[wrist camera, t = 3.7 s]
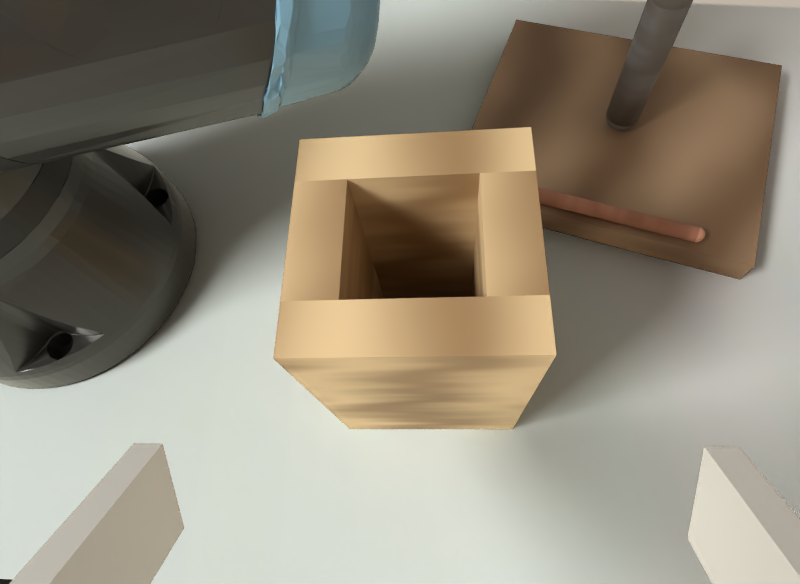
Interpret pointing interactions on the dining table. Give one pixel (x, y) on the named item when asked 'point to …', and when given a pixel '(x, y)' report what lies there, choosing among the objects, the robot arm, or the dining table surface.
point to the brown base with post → (642, 137)
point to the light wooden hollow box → (417, 279)
